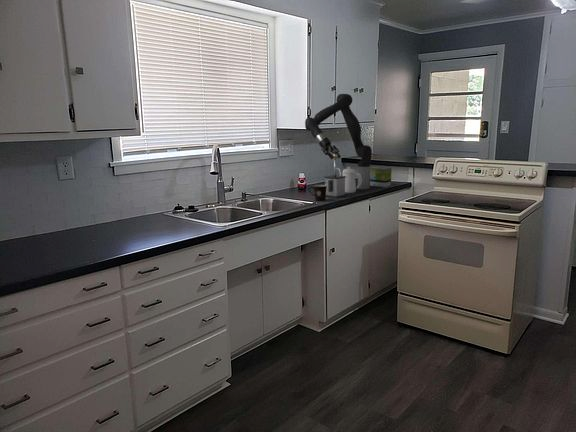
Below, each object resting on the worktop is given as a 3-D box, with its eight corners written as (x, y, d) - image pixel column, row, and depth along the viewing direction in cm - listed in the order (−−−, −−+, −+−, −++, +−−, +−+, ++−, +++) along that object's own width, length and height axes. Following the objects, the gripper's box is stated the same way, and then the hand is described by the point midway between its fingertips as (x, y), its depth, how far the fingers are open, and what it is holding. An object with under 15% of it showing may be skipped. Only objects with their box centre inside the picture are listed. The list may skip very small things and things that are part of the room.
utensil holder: (333, 194, 316) (333, 175, 313) (345, 195, 309) (345, 176, 306) (323, 196, 307) (323, 176, 304) (335, 198, 300) (335, 178, 297)
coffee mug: (329, 200, 294) (329, 185, 292) (320, 202, 288) (320, 187, 286) (316, 198, 302) (316, 183, 300) (307, 200, 296) (307, 185, 294)
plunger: (333, 181, 312) (333, 153, 308) (342, 181, 307) (342, 153, 303) (327, 182, 306) (327, 154, 302) (336, 183, 301) (336, 154, 297)
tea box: (368, 185, 354) (368, 167, 351) (374, 184, 361) (375, 166, 358) (385, 187, 344) (385, 168, 341) (391, 185, 352) (392, 167, 348)
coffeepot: (340, 189, 339) (340, 165, 335) (365, 192, 320) (366, 167, 316) (330, 190, 332) (330, 166, 328) (356, 194, 313) (356, 168, 309)
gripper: (319, 137, 300) (333, 155, 295) (332, 136, 310) (345, 153, 305) (313, 145, 304) (327, 162, 299) (326, 144, 315) (339, 160, 310)
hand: (336, 158), depth 302 cm, fingers open, 8 cm apart
